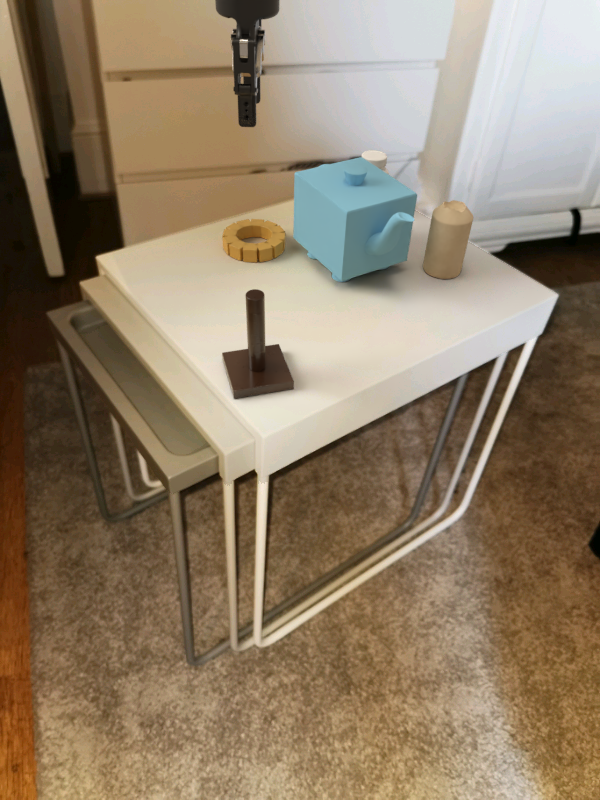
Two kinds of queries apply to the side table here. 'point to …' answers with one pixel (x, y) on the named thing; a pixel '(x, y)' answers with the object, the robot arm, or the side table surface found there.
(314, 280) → the side table surface
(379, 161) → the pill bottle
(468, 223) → the candle
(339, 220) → the teapot
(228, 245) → the ring
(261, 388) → the post
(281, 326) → the side table surface
